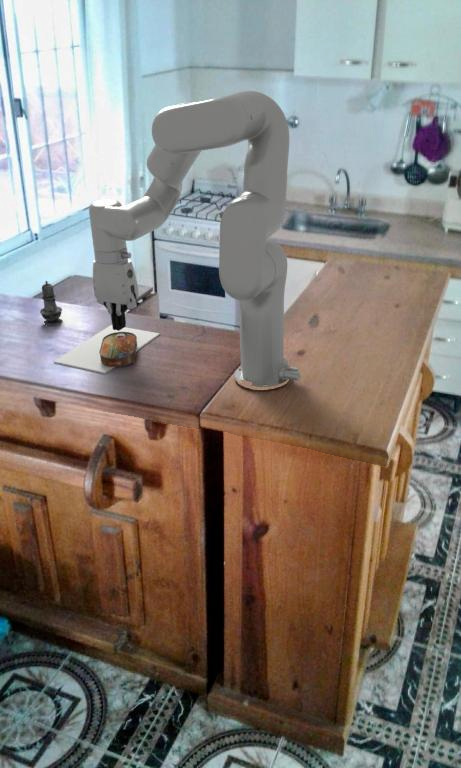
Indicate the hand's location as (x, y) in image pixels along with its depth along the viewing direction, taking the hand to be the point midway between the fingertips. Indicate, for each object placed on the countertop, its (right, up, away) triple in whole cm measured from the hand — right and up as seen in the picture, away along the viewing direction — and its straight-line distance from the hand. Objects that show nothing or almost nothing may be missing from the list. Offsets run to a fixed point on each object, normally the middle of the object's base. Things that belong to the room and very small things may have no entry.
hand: (119, 328), depth 172 cm
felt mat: (-3, -5, +5) cm, 7 cm away
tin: (+4, -5, 0) cm, 7 cm away
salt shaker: (-21, +3, +21) cm, 30 cm away
